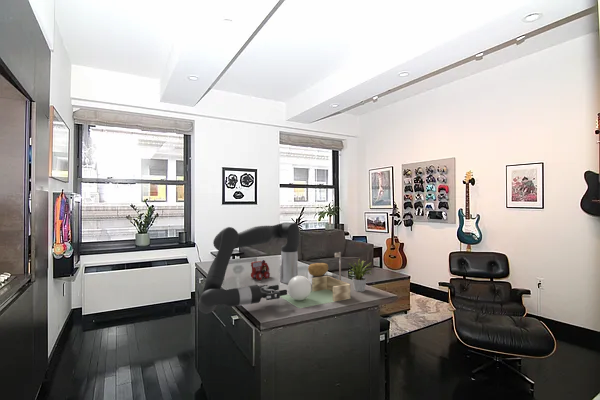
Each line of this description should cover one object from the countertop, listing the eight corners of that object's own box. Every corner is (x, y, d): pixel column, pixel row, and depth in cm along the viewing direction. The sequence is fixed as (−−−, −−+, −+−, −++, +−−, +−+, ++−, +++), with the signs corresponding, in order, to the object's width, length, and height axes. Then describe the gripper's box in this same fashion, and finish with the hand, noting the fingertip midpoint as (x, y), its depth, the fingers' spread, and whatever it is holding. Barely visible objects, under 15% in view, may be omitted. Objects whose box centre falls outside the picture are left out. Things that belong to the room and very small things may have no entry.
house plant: (353, 296, 152) (353, 262, 152) (338, 289, 165) (338, 257, 165) (378, 293, 158) (378, 260, 158) (362, 286, 171) (362, 255, 171)
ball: (282, 301, 145) (282, 277, 145) (295, 295, 154) (295, 272, 154) (303, 305, 139) (303, 280, 139) (315, 298, 149) (315, 275, 149)
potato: (332, 276, 193) (332, 262, 193) (314, 279, 186) (314, 265, 186) (322, 273, 202) (322, 260, 201) (304, 276, 194) (304, 262, 194)
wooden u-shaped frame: (334, 301, 144) (334, 257, 144) (312, 290, 161) (311, 251, 161) (353, 298, 150) (353, 255, 149) (329, 287, 167) (329, 249, 166)
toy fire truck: (272, 277, 190) (272, 260, 190) (255, 281, 182) (255, 263, 182) (265, 275, 195) (265, 258, 195) (248, 279, 187) (248, 261, 187)
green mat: (299, 309, 135) (299, 308, 135) (279, 296, 153) (279, 296, 153) (351, 299, 149) (351, 298, 149) (328, 288, 166) (328, 288, 166)
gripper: (253, 290, 128) (289, 285, 136) (242, 282, 141) (275, 277, 149) (253, 309, 129) (289, 302, 136) (242, 299, 141) (275, 293, 149)
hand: (282, 289), depth 143 cm, fingers open, 8 cm apart
